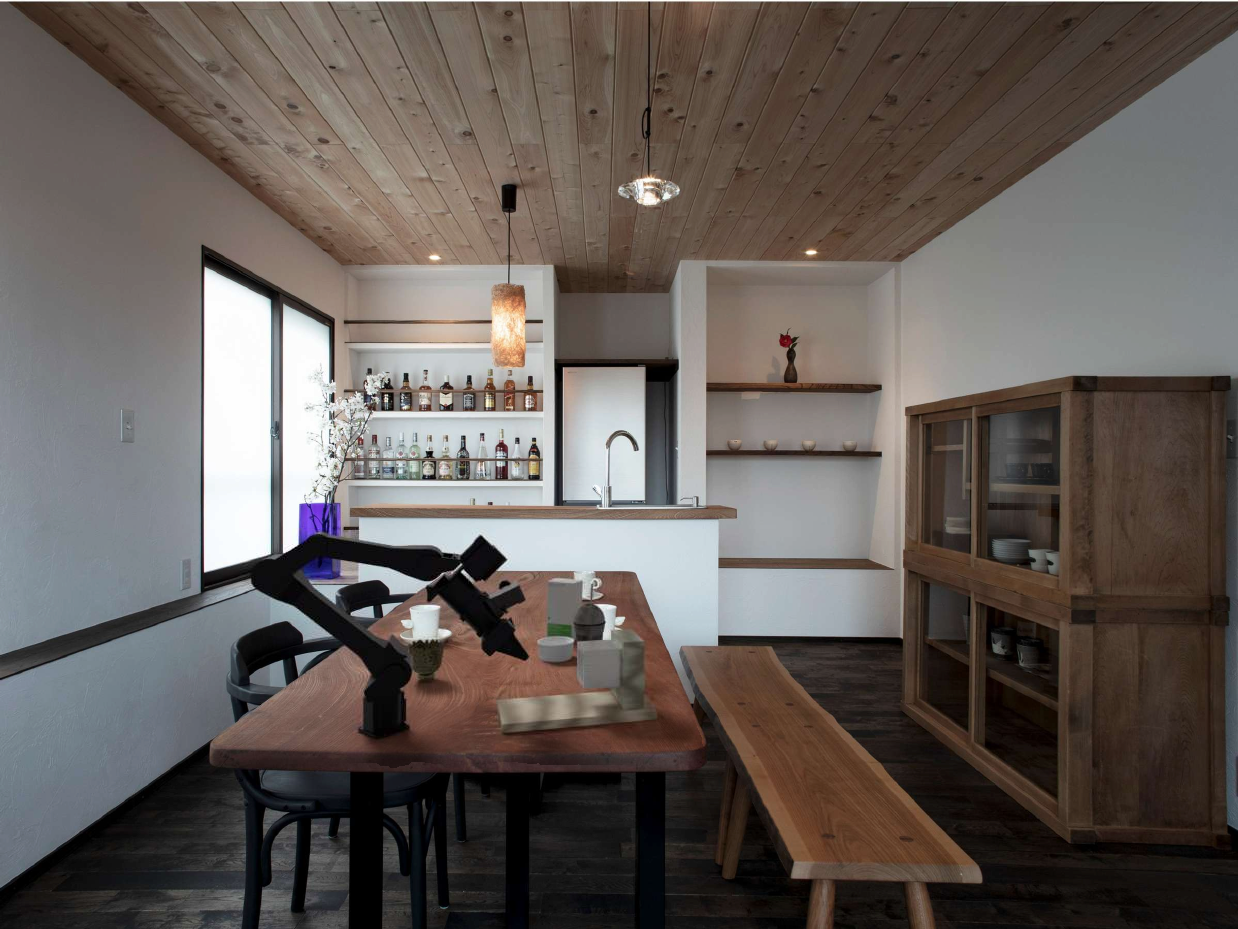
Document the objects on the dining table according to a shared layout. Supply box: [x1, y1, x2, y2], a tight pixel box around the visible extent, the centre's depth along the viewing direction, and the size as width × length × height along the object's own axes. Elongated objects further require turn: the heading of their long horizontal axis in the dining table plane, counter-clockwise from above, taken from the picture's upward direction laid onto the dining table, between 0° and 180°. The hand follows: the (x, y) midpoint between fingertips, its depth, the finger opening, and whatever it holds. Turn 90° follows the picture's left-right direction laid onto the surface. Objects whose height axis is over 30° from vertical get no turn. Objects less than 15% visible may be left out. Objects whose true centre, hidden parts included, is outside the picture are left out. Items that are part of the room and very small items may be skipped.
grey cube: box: [576, 639, 621, 690], centre depth 130 cm, size 7×7×7 cm
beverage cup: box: [573, 583, 606, 645], centre depth 154 cm, size 7×7×20 cm
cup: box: [408, 638, 445, 682], centre depth 149 cm, size 8×7×8 cm
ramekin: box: [536, 636, 575, 663], centre depth 167 cm, size 9×9×4 cm
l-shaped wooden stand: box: [496, 628, 658, 734], centre depth 129 cm, size 28×13×14 cm, turn 104°
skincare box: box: [545, 577, 584, 641], centre depth 187 cm, size 8×7×16 cm
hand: (527, 658), depth 127 cm, fingers closed
